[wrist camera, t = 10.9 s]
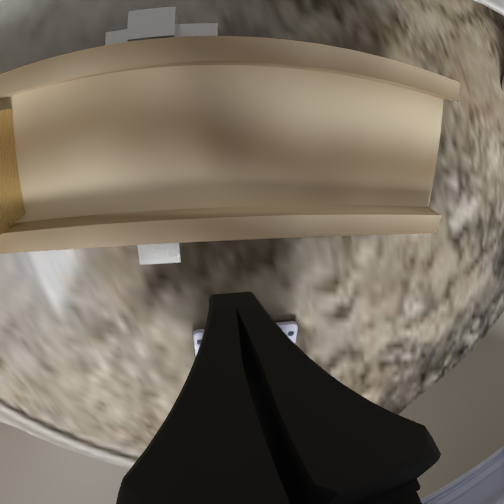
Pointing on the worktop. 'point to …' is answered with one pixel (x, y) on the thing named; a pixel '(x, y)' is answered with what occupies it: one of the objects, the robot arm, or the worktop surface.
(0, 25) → the worktop surface
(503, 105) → the worktop surface
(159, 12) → the stand
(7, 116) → the block
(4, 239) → the beam
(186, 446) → the robot arm
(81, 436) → the worktop surface
